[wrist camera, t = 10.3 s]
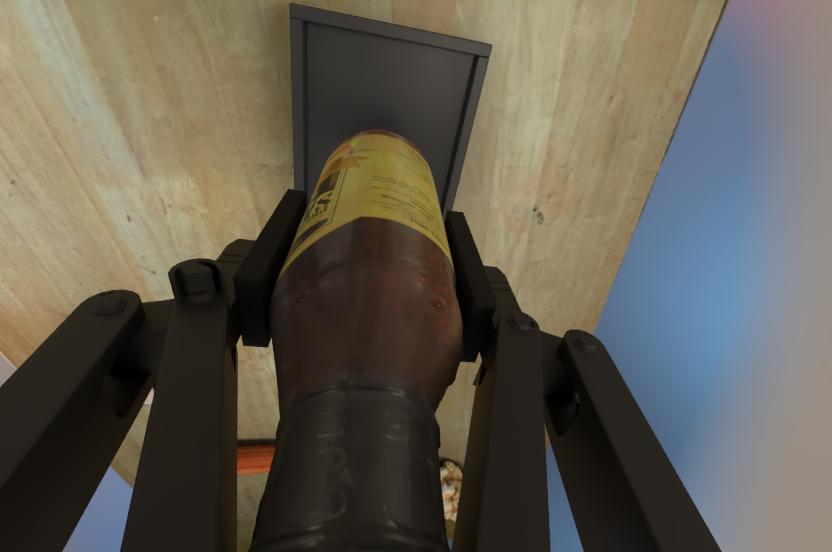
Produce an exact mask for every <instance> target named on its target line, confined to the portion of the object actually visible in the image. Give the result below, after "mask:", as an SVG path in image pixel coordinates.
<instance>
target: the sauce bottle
mask: <svg viewBox="0 0 832 552" xmlns="http://www.w3.org/2000/svg"><path fill="white" fill-rule="evenodd" d="M269 321H270V328H271V336H272V344H273V352H274V360H275V367H276V376H277V386H278V399H279V412H280V420H279V423H278V427H277V432H276V447H275V452H274V456H273V459H272V462H271V467H270V471H269V475H268V479H267V483H266V487H265V491H264V494H263V496H262V498H261V501H260V505H259V510H258V514H257V517H256V526H255V529H254V531H253V537H252V543H251V545H250V548H249V551H248V552H451V551H450V549H449V546H448V541H447V536H446V527H445V515H444V504H443V496H442V488H441V475H440V468H439V456H438V449H439V448H440V445H441V444H440V427H439V425H438V423H437V420H436V417H435V415H434V414H435V412H436V410H437V408H438V406H439V403H440V402H441V400H442V398H443V397H444V394H445V392H446V389H447V388H448V386H450V385H452V383H453V382H454V381H455V378H456V373H457V370H458V366H459V364H460V361H461V358H462V355H463V352H464V351H463V322H462V319H461V312H460V308H459V303H458V300H457V297H456V277H455V271H454V267H453V262H452V258H451V254H450V249H449V245H448V240H447V236H446V232H445V227H444V223H443V219H442V214H441V210H440V205H439V201H438V197H437V193H436V189H435V184H434V180H433V177H432V173H431V171H430V168H429V166H428V164H427V162H426V161H425V159H424V158H423V156H422V155H421V152H420V150H419V149H418V148H417V147H416V146H415V145H414V144H413V143H412V142H410V141H408V140H407V139H405V138H404V137H402V136H400V135H398V134H396V133H393V132H390V131H386V130H382V129H371V130H366V131H362V132H360V133H358V134H356V135H354V136H352V137H350V138H347V139H345V140H344V141H343V142H342V143H341V144H340V146H339V147H338V148H337V149H336V150H335V151H334V152H333V153H332V154H331V155H330V157H329V159H328V160H327V162H326V164H325V166H324V168H323V171H322V173H321V176H320V178H319V180H318V183H317V185H316V188H315V190H314V193H313V195H312V196H311V199H310V202H309V204H308V207H307V209H306V211H305V213H304V216H303V217H302V220H301V223H300V225H299V226H298V229H297V233H296V236H295V238H294V241H293V243H292V245H291V248H290V250H289V252H288V255H287V258H286V260H285V263H284V264H283V266H282V268H281V271H280V275H279V277H278V279H277V282H276V284H275V287H274V290H273V293H272V295H271V298H270V304H269Z"/></svg>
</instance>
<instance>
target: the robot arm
mask: <svg viewBox="0 0 832 552" xmlns="http://www.w3.org/2000/svg"><path fill="white" fill-rule="evenodd" d="M305 211H306V191H300V190H293V189H288V190H287V192H286V193H285V195H284V196H283V198H282V200H281V201H280V203H279V204H278V206H277V208H276V209H275V211H274V212H273V214H272V216H271V217H270V219H269V220H268V222H267V224H266V225H265V227H264V228H263V230H262V232H261V233H260V235H259V236H258V238H257V240H256V241H254V240H245V239H237V240H236V241H234V242H232V243H230V244H229V245H227V246H226V248H225V249H224V250H223V252H222V253H221V255H220V256H219V257H218V258H217V260H216V261H215V260H211V259H201V258H198V259H191V260H186V261H183V262H181V263H178V264H177V265H175V266H173V267H172V268H171V269H170V271H169V272H168V276H169V280H170V283H171V287H172V290H173V294H174V299H170V300H164V301H155V302H145V303H142V302H141V299H140V297H139V295H138V294H136V293H135V292H133V291H128V290H111V291H107V292H102V293H99V294H96V295H94V296H92V297H90V298H88V299H86V300H85V301H84V302H82V303H81V304H80V305H79V306H78V307H77V308H76V309H75V310H74V311H73V312H72V313H71V314H70V315H69V316H68V317H67V318H66V319H65V320H64V322H63V323H62V324H61V325H60V326H59V327H58V328H57V329H56V330H55V331H54V332H53V333H52V334H51V335H50V336H49V337H48V338H47V339H46V340H45V341H44V342H43V343H42V344H41V345H40V346H39V347H38V348H37V350H36V351H35V352H34V353H33V354H32V355H31V356H30V357H29V358H28V359H27V360H26V361H25V362H24V363H23V364H22V365H21V366H20V367H19V368H18V369H17V370H16V371H15V372H14V373H13V374H12V375H11V376H10V378H9V379H8V380H7V381H6V382H5V383H4V384H3V385H2V386H1V387H0V552H62V551H63V549H64V547H65V545H66V544H67V542H68V540H69V538H70V536H71V535H72V533H73V531H74V529H75V527H76V525H77V524H78V522H79V520H80V518H81V516H82V515H83V513H84V511H85V509H86V508H87V506H88V504H89V502H90V500H91V498H92V496H93V495H94V493H95V491H96V489H97V488H98V485H99V484H100V482H101V480H102V478H103V477H104V475H105V473H106V471H107V469H108V467H109V466H110V464H111V462H112V460H113V458H114V457H115V455H116V453H117V451H118V449H119V448H120V446H121V444H122V442H123V440H124V439H125V437H126V435H127V433H128V431H129V429H130V428H131V426H132V424H133V422H134V420H135V419H136V417H137V415H138V413H139V411H140V409H141V408H142V406H143V404H144V402H145V400H146V399H147V397H148V395H149V393H150V391H151V390H152V388H153V386H154V384H155V382H156V386H155V391H154V395H153V400H152V405H151V409H150V414H149V419H148V423H147V428H146V433H145V437H144V442H143V447H142V451H141V456H140V461H139V465H138V470H137V475H136V479H135V484H134V489H133V494H132V498H131V504H130V508H129V512H128V517H127V522H126V526H125V531H124V536H123V540H122V545H121V550H120V552H237V398H238V353H237V347H236V344H237V342H238V340H239V338H240V336H241V335H242V341H243V346H255V347H268V345H269V343H270V340H271V337H272V336H271V328H270V321H269V304H270V298H271V295H272V293H273V290H274V287H275V284H276V282H277V279H278V277H279V275H280V271H281V268H282V266H283V264H284V263H285V260H286V258H287V255H288V252H289V250H290V248H291V245H292V243H293V241H294V238H295V236H296V233H297V229H298V226H299V225H300V223H301V220H302V217H303V216H304V213H305ZM444 227H445V232H446V236H447V240H448V245H449V249H450V254H451V258H452V262H453V267H454V271H455V277H456V297H457V300H458V303H459V308H460V312H461V319H462V322H463V351H464V352H463V355H462V358H461V362H475V361H476V359H477V356H478V353H479V351H480V355H481V359H482V363H481V365H480V368H479V370H478V373H477V375H476V378H475V380H474V383H473V385H475V386H476V390H475V397H474V403H473V410H472V416H471V423H470V430H469V436H468V443H467V450H466V456H465V463H464V469H463V476H462V483H461V489H460V496H459V503H458V509H457V516H456V522H455V529H454V536H453V543H452V549H451V552H550V551H551V550H550V531H549V509H548V489H547V470H546V469H547V468H546V448H545V427H544V423H545V426H546V429H547V433H548V436H549V439H550V442H551V446H552V449H553V452H554V455H555V459H556V462H557V465H558V468H559V472H560V475H561V478H562V482H563V485H564V488H565V491H566V495H567V498H568V501H569V505H570V508H571V511H572V514H573V518H574V521H575V524H576V528H577V531H578V534H579V537H580V541H581V544H582V547H583V550H584V552H722V551H721V550H720V548H719V546H718V544H717V543H716V541H715V539H714V537H713V536H712V534H711V532H710V530H709V529H708V527H707V525H706V523H705V522H704V520H703V518H702V516H701V515H700V513H699V511H698V509H697V508H696V506H695V504H694V502H693V501H692V499H691V497H690V495H689V494H688V492H687V490H686V488H685V487H684V485H683V483H682V481H681V480H680V478H679V476H678V474H677V473H676V471H675V469H674V467H673V466H672V464H671V462H670V461H669V459H668V457H667V455H666V453H665V451H664V450H663V448H662V446H661V444H660V443H659V441H658V439H657V438H656V436H655V434H654V432H653V430H652V429H651V427H650V425H649V423H648V422H647V420H646V418H645V416H644V415H643V413H642V411H641V409H640V408H639V406H638V404H637V402H636V401H635V399H634V397H633V396H632V394H631V392H630V390H629V388H628V387H627V385H626V383H625V382H624V380H623V378H622V376H621V374H620V373H619V371H618V369H617V367H616V366H615V364H614V362H613V360H612V359H611V357H610V355H609V353H608V352H607V350H606V348H605V346H604V345H603V344H602V343H601V341H600V340H598V339H597V338H596V337H594V336H593V335H591V334H589V333H587V332H585V331H581V330H569V331H567V332H566V333H565V335H564V337H563V338H561V337H558V336H554V335H551V334H548V333H545V332H543V331H540V329H539V326H538V324H537V322H536V321H535V320H534V319H533V318H532V317H530V316H529V315H527V314H525V313H523V312H522V311H521V309H520V307H519V305H518V303H517V300H516V298H515V296H514V294H513V292H512V289H511V287H510V285H509V283H508V281H507V278H506V276H505V275H504V274H503V273H502V272H501V271H500V270H499V269H498V268H497V267H491V266H483V263H482V261H481V258H480V255H479V253H478V250H477V248H476V245H475V242H474V240H473V237H472V234H471V232H470V229H469V227H468V224H467V221H466V219H465V216H464V214H463V212H456V211H448V210H447V213H446V217H445V222H444ZM156 380H157V381H156Z"/></svg>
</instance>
